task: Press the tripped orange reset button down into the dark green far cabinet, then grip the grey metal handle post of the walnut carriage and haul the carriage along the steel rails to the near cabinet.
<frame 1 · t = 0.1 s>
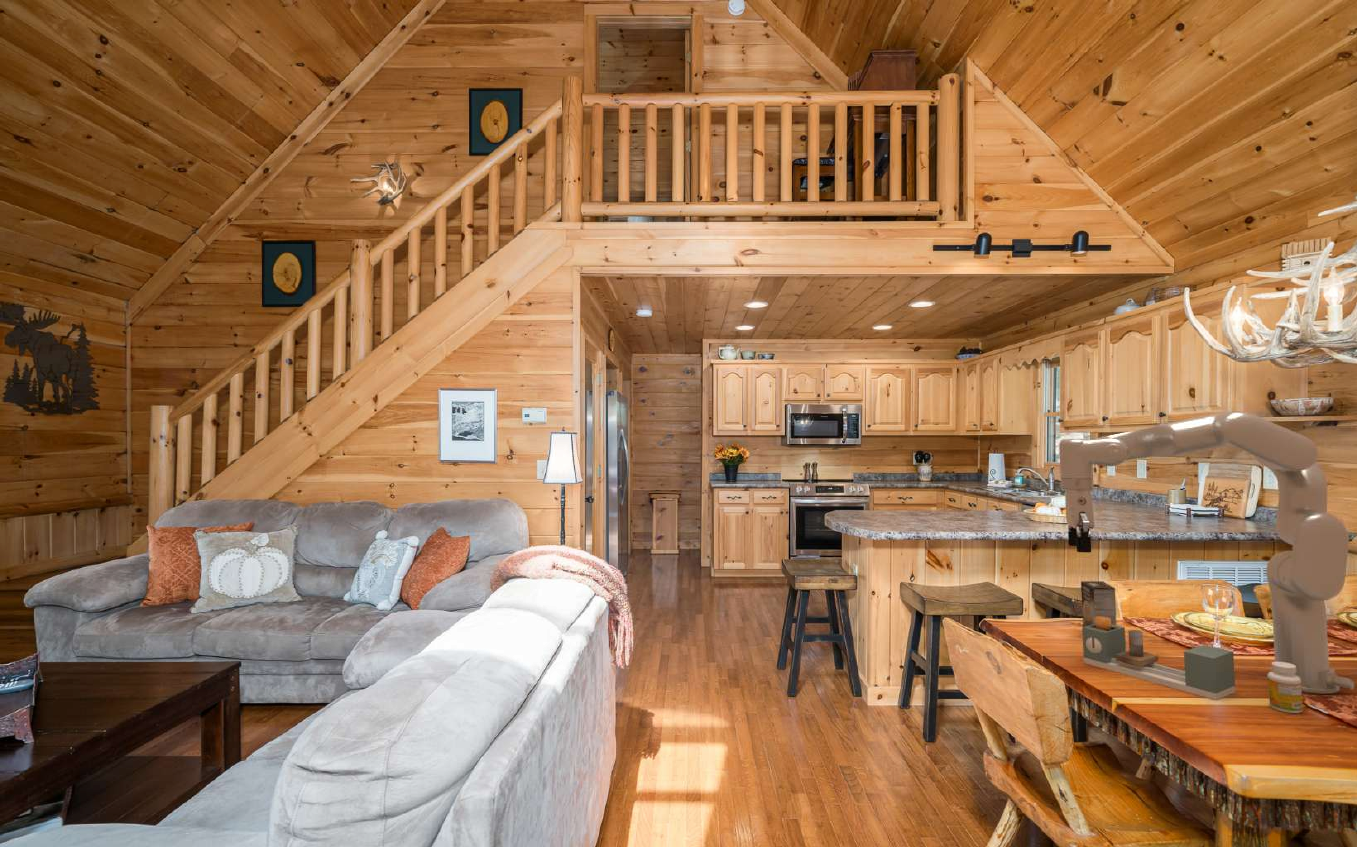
hand: (1079, 548, 176), 31 cm above the table, tool pointing down, fingers open, 9 cm apart
reset button: (1103, 623, 177), point 10 cm above the table, slide at 0.0 cm
far cabinet: (1105, 662, 176), resting on rail track
supplement bottle: (1286, 709, 145), on the table
rail track: (1154, 676, 166), on the table
carriage: (1136, 646, 170), point 7 cm above the table, slide at 4.0 cm
near cabinet: (1210, 691, 155), resting on rail track
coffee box: (1100, 638, 197), on the table
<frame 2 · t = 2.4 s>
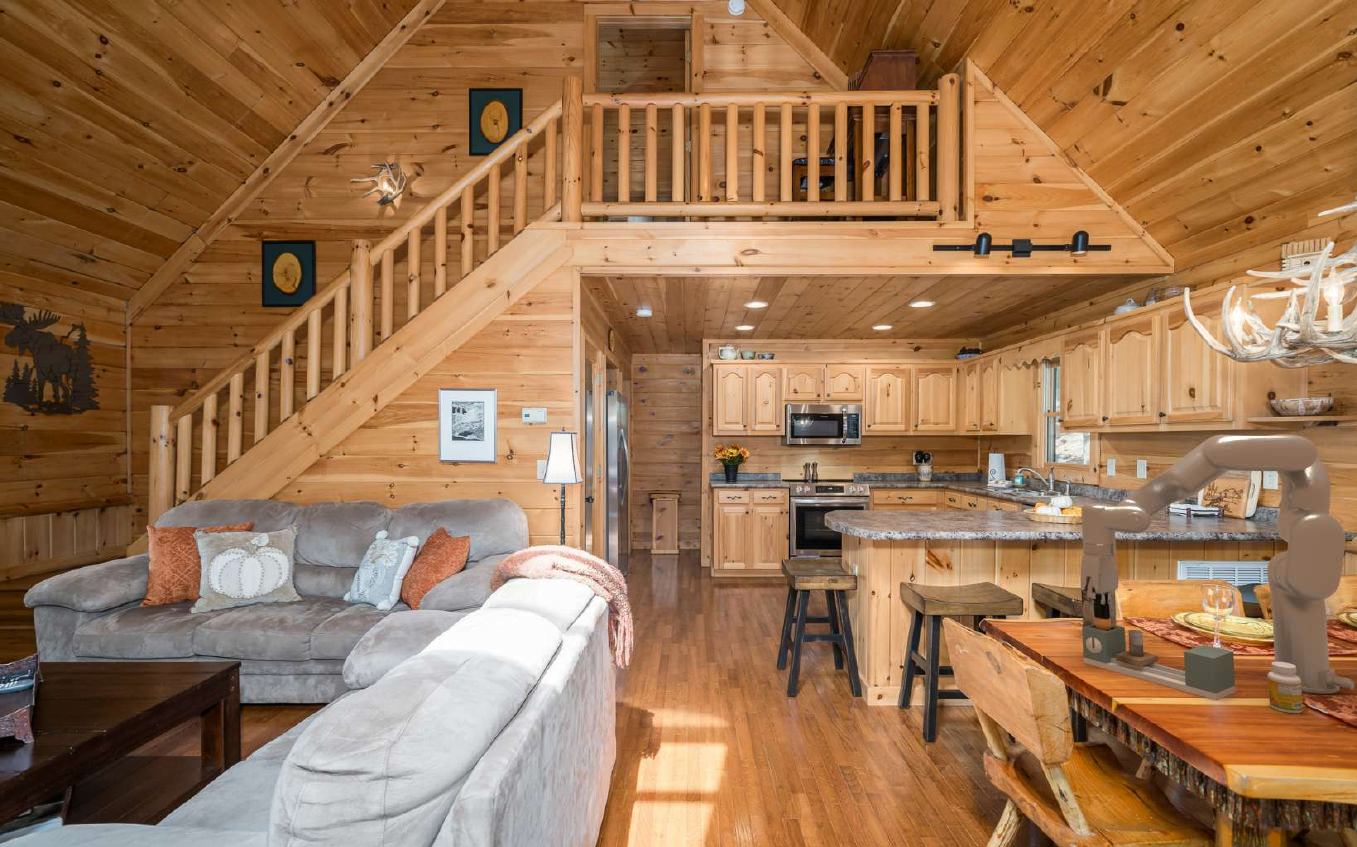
hand: (1102, 617, 177), 12 cm above the table, tool pointing down, fingers closed
reset button: (1103, 624, 177), point 10 cm above the table, slide at 0.0 cm, touching gripper
everything else where it was.
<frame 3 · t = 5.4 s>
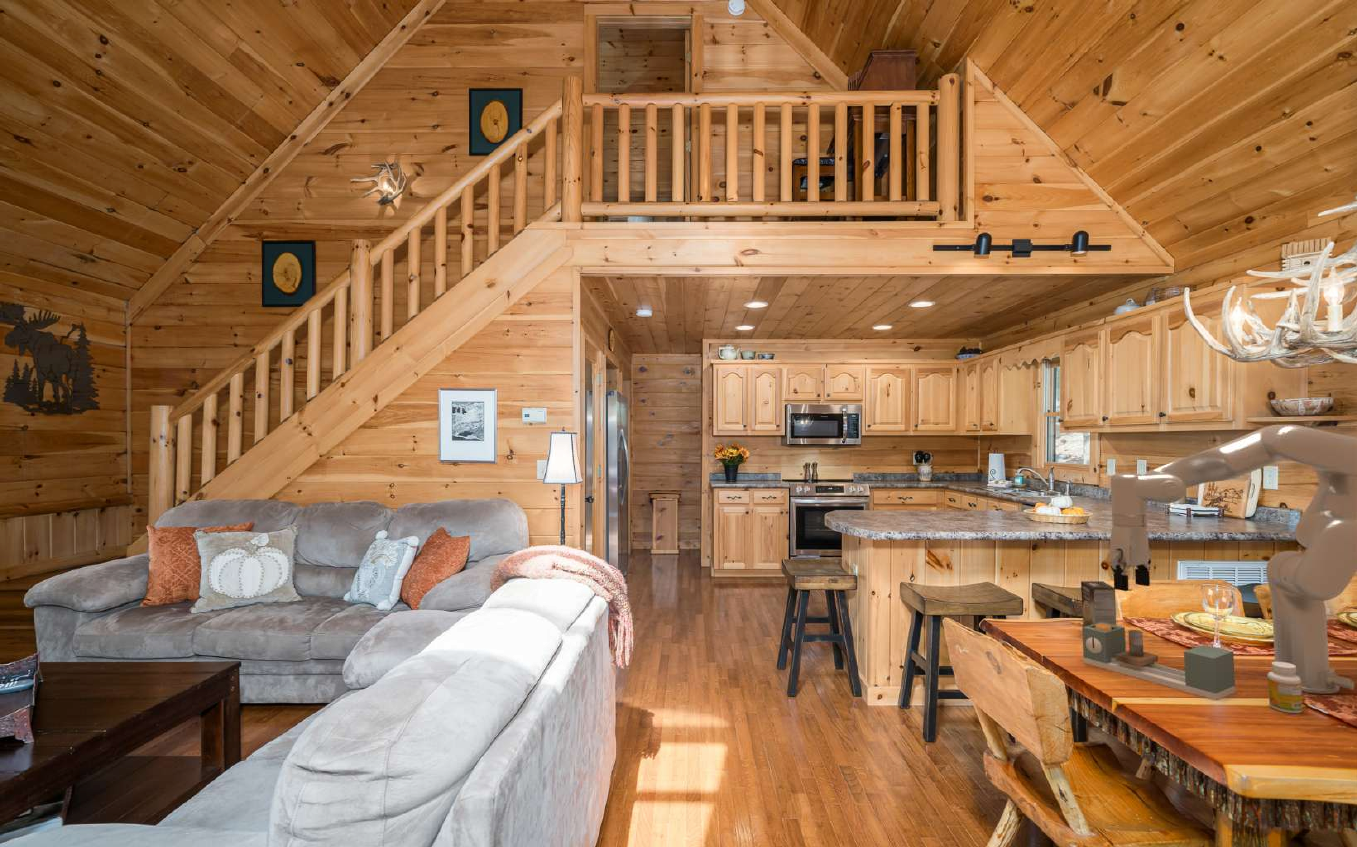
hand: (1132, 587, 170), 22 cm above the table, tool pointing down, fingers open, 9 cm apart
reset button: (1103, 631, 177), point 8 cm above the table, slide at -2.0 cm
everything else where it was.
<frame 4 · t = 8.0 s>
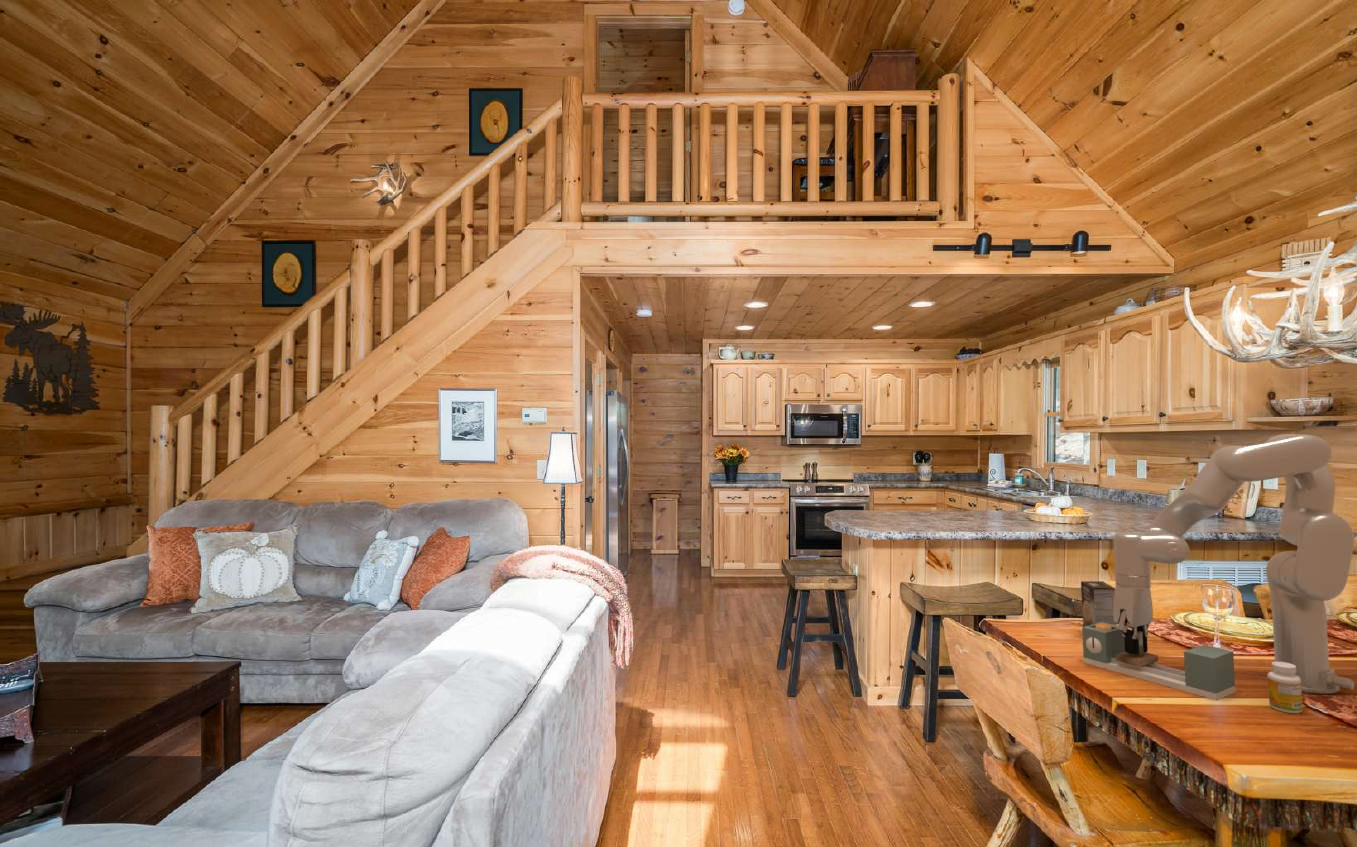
hand: (1136, 651, 170), 5 cm above the table, tool pointing down, fingers closed on carriage, 3 cm apart
carriage: (1136, 646, 170), point 7 cm above the table, slide at 4.0 cm, touching gripper
everything else where it was.
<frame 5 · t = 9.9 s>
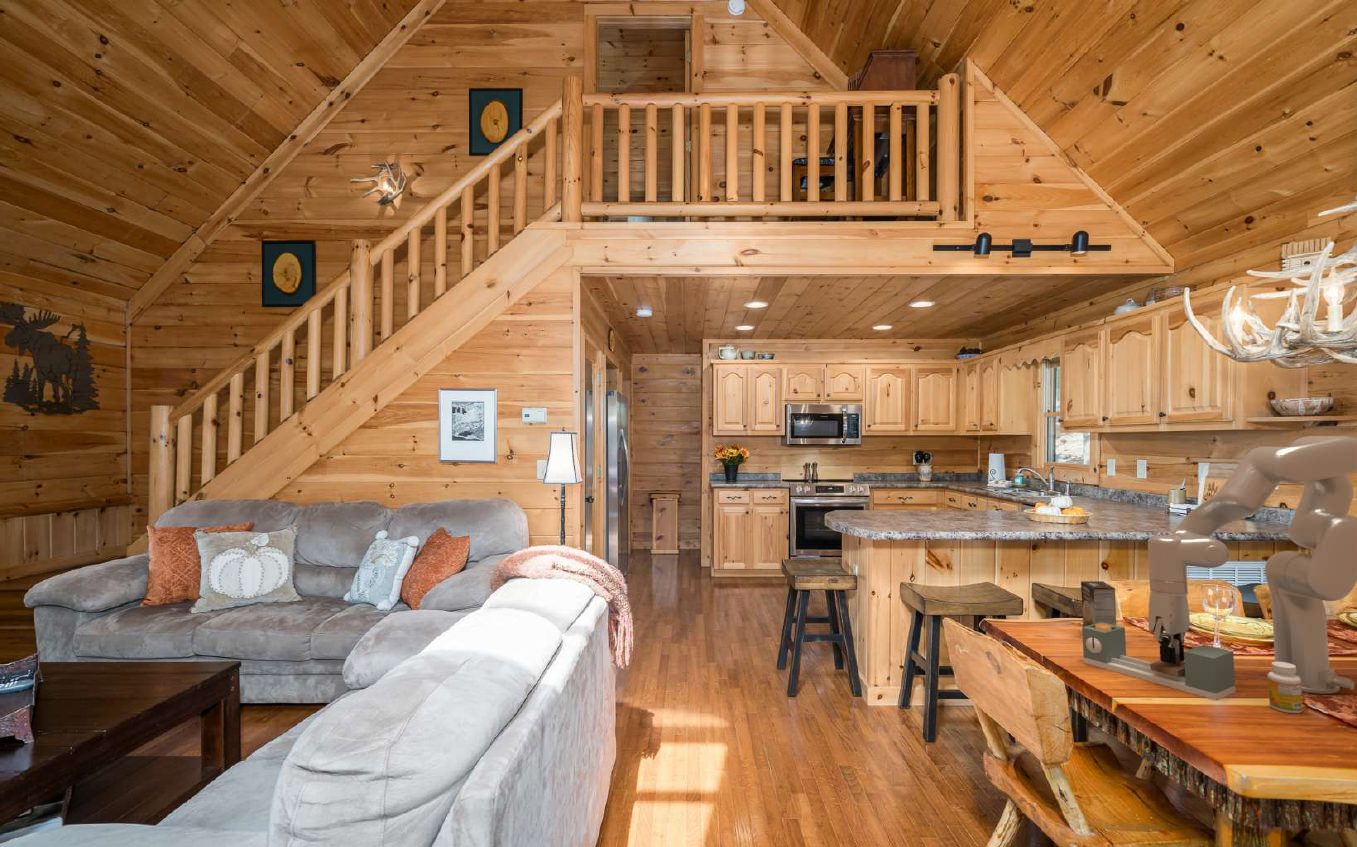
hand: (1172, 660, 162), 5 cm above the table, tool pointing down, fingers closed on carriage, 3 cm apart
carriage: (1172, 654, 162), point 7 cm above the table, slide at -4.2 cm, touching gripper
everything else where it was.
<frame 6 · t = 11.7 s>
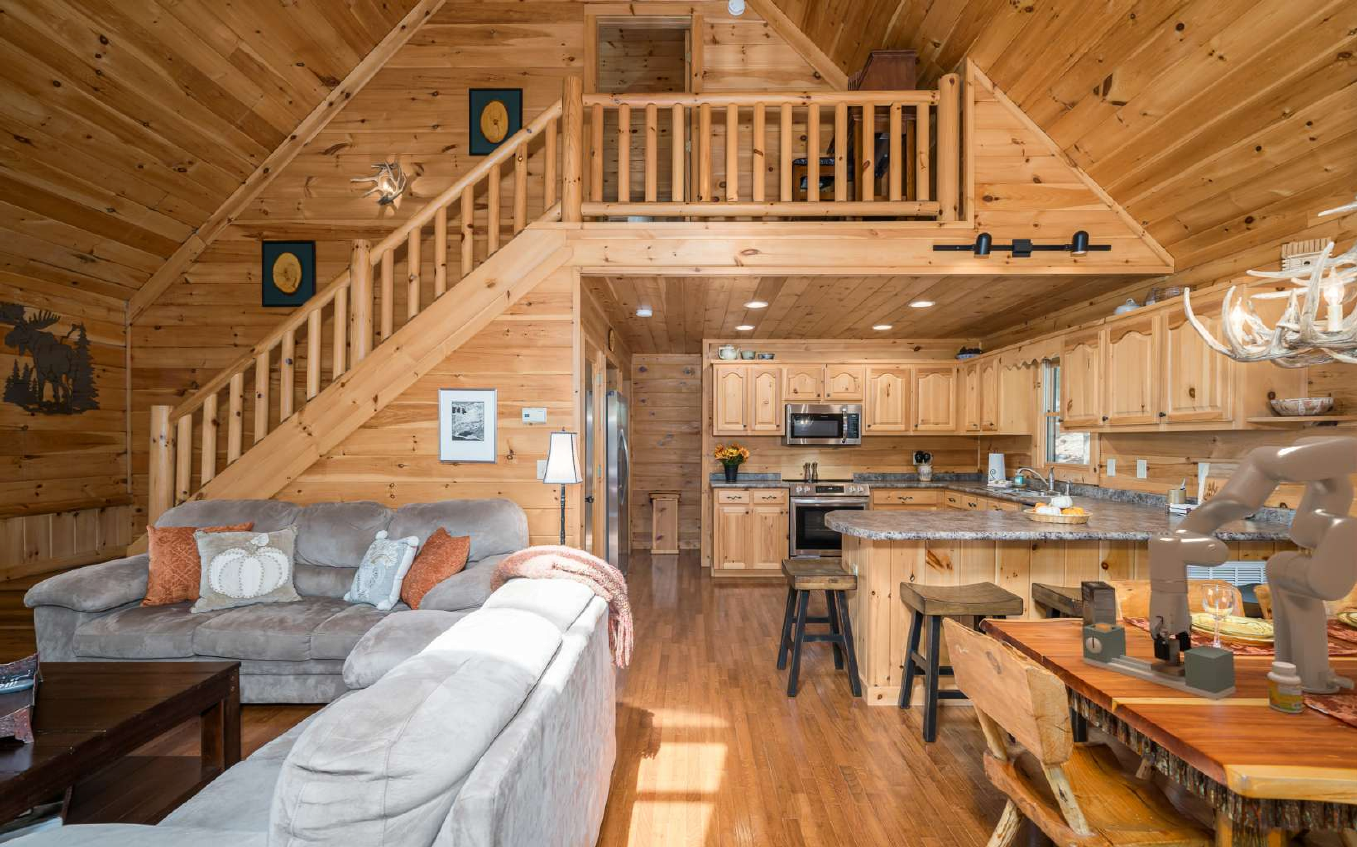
hand: (1173, 655, 162), 6 cm above the table, tool pointing down, fingers open, 9 cm apart
carriage: (1172, 654, 162), point 7 cm above the table, slide at -4.3 cm
everything else where it was.
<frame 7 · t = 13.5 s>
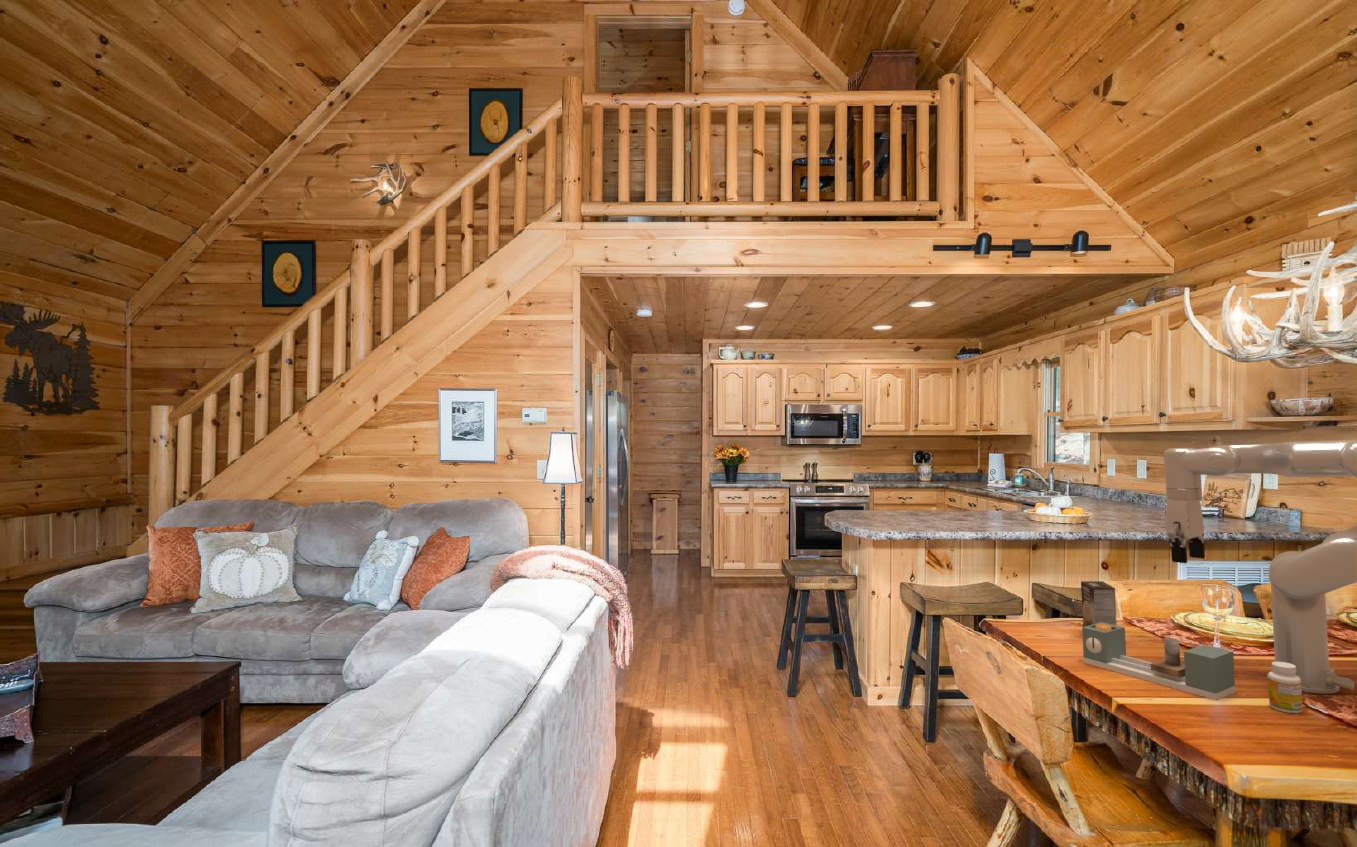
hand: (1188, 559, 173), 28 cm above the table, tool pointing down, fingers open, 9 cm apart
nothing on the table moved.
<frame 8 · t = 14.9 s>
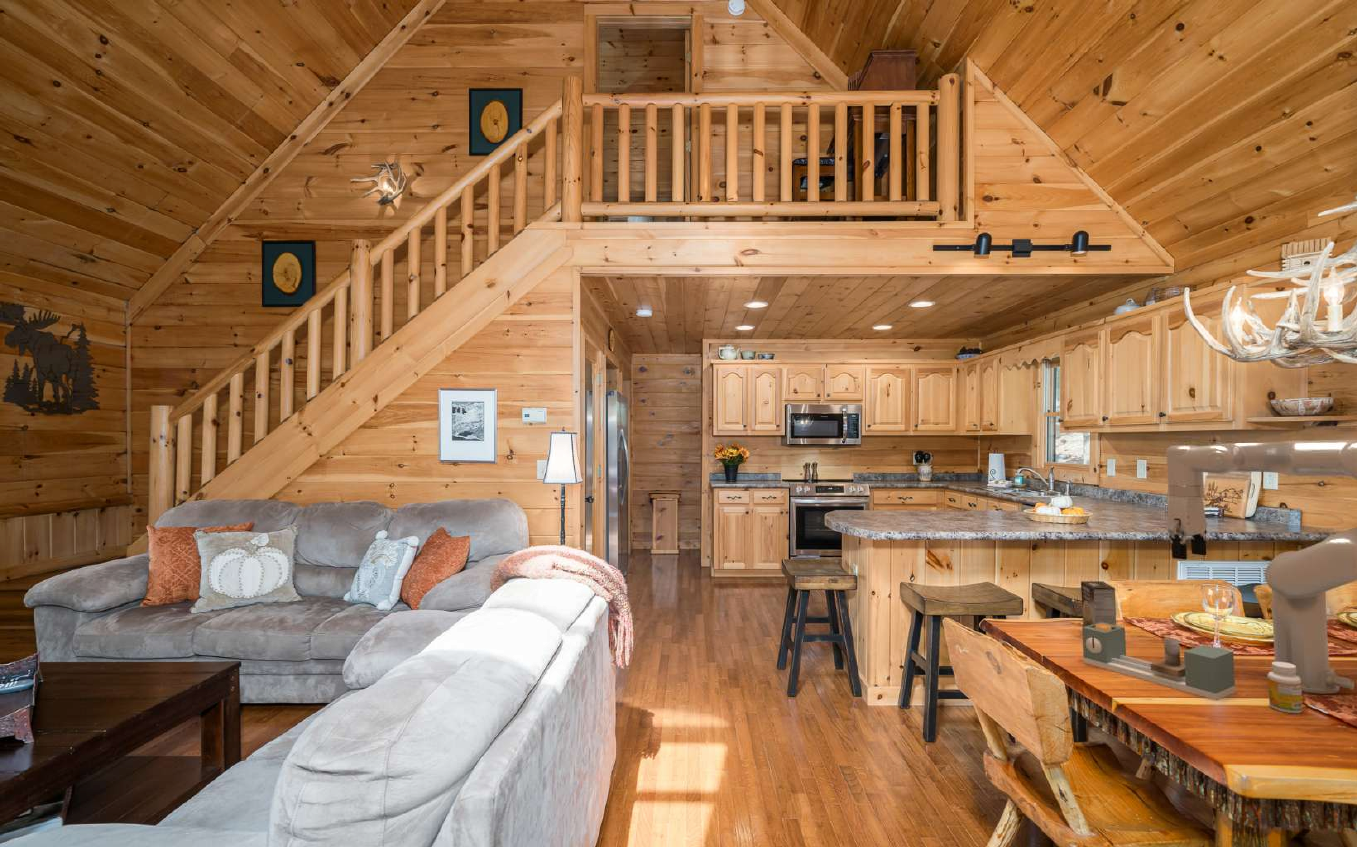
hand: (1189, 556, 174), 28 cm above the table, tool pointing down, fingers open, 9 cm apart
nothing on the table moved.
at the end: reset button slide at -2.0 cm; carriage slide at -4.3 cm; the gripper is holding nothing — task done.
